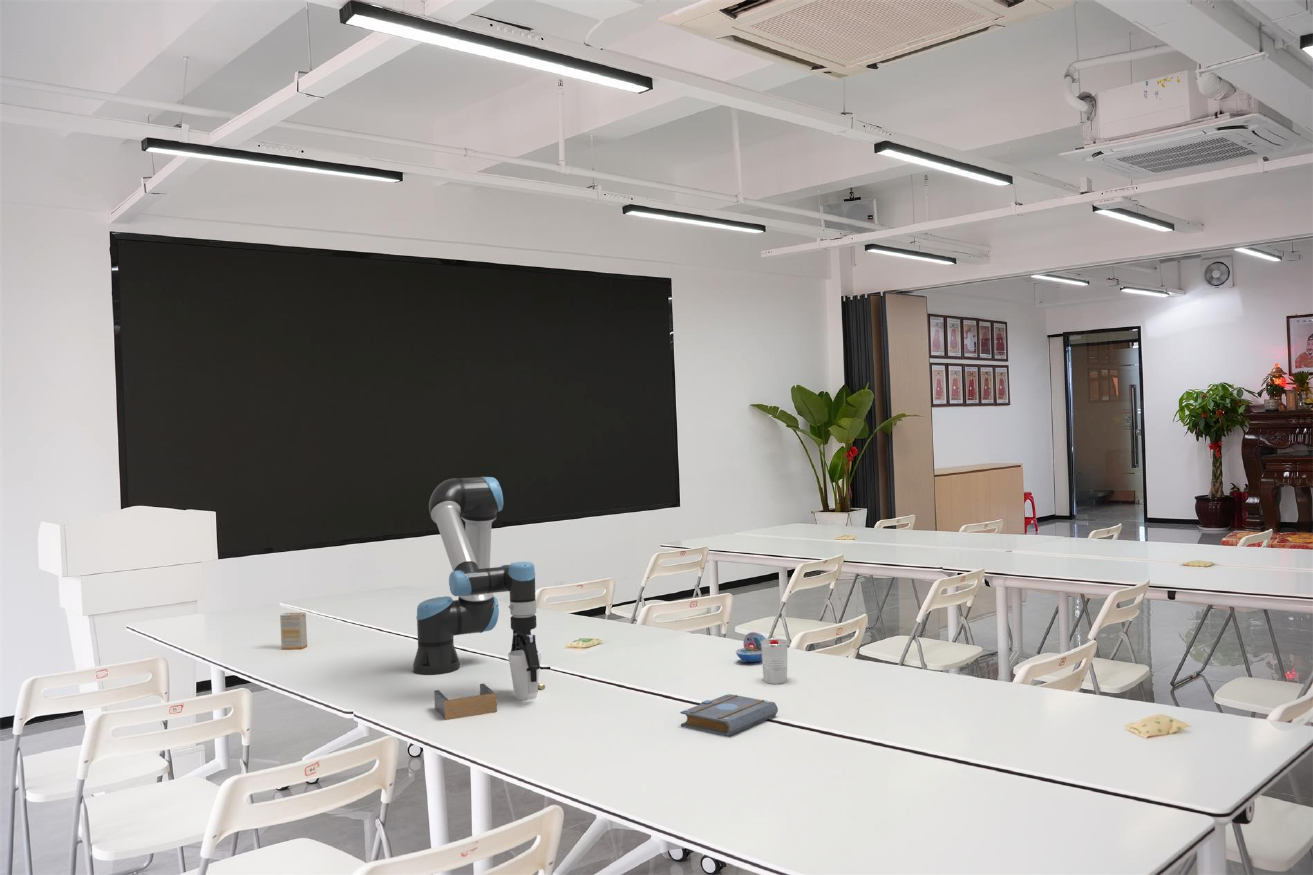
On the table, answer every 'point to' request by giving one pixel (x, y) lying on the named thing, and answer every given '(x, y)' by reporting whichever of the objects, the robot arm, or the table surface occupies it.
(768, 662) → the ribbed metal can
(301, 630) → the supplement box
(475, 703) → the channel
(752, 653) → the cell model
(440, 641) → the robot arm
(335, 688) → the table surface
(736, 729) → the book
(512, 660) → the foam cup
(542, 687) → the brass key
